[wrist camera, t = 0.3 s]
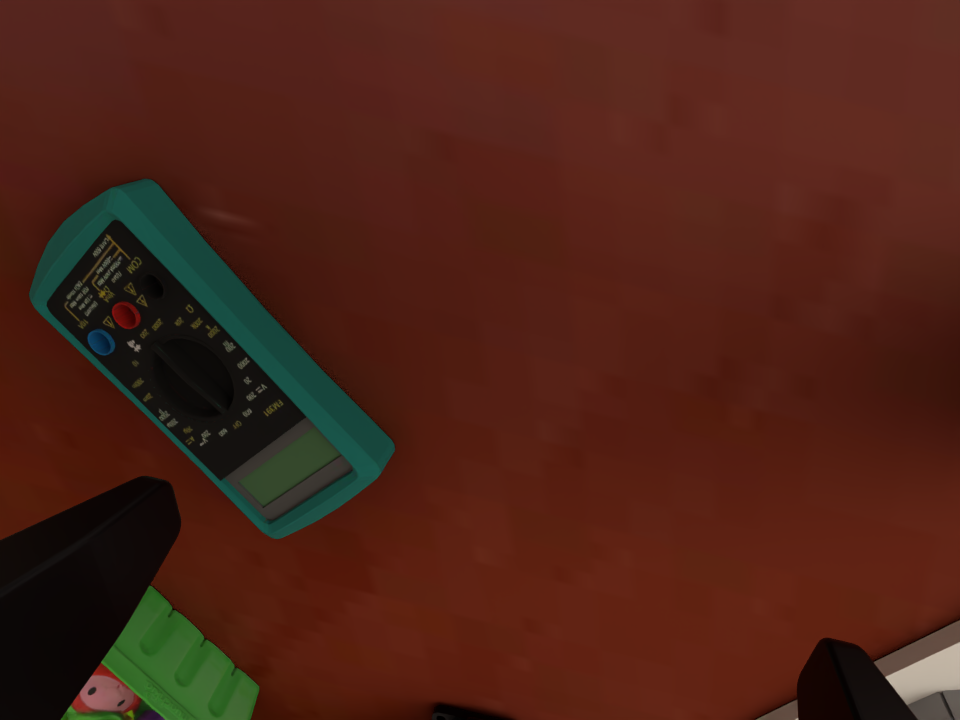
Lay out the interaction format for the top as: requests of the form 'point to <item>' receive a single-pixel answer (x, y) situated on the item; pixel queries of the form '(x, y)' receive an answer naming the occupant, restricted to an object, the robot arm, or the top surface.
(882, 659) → the board
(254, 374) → the digital multimeter
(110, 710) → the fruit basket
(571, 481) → the top surface
